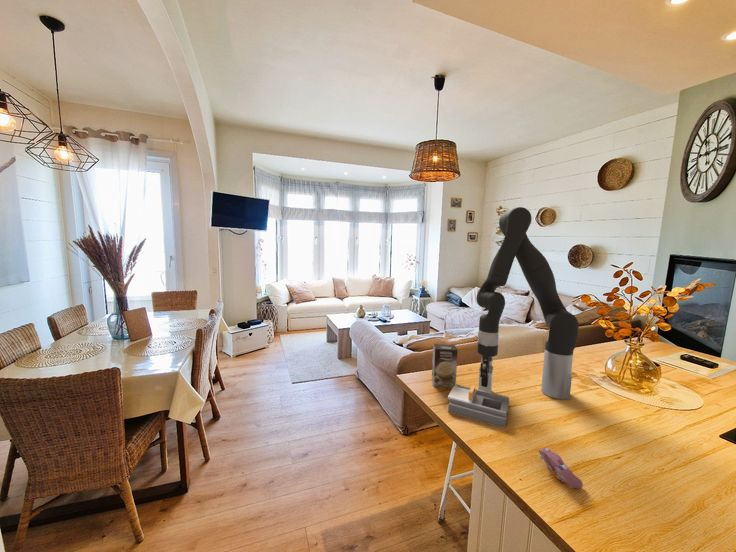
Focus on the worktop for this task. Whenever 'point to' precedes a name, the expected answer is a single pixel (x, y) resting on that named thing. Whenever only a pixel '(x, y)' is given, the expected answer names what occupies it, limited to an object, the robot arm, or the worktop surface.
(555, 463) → the pink curved piece
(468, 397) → the shutter
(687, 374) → the worktop surface
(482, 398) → the grey sliding panel box
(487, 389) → the plug
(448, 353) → the coffee box
